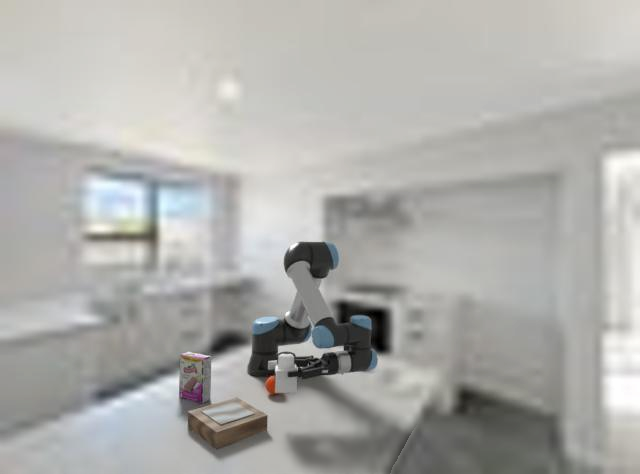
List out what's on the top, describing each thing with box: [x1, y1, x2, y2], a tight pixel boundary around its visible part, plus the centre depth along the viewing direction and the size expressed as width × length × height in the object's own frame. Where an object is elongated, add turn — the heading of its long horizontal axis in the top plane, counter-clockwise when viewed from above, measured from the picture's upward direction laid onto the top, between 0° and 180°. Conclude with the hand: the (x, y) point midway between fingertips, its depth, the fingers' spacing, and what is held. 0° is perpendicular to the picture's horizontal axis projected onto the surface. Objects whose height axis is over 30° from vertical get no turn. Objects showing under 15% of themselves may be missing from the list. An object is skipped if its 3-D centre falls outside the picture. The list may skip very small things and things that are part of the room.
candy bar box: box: [178, 351, 212, 404], centre depth 161 cm, size 11×5×16 cm, turn 65°
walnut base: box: [187, 397, 269, 450], centre depth 138 cm, size 18×18×5 cm
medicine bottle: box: [274, 351, 298, 394], centre depth 144 cm, size 7×7×12 cm
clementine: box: [265, 375, 280, 395], centre depth 168 cm, size 8×7×7 cm
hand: (272, 370), depth 142 cm, fingers closed on medicine bottle, 9 cm apart
